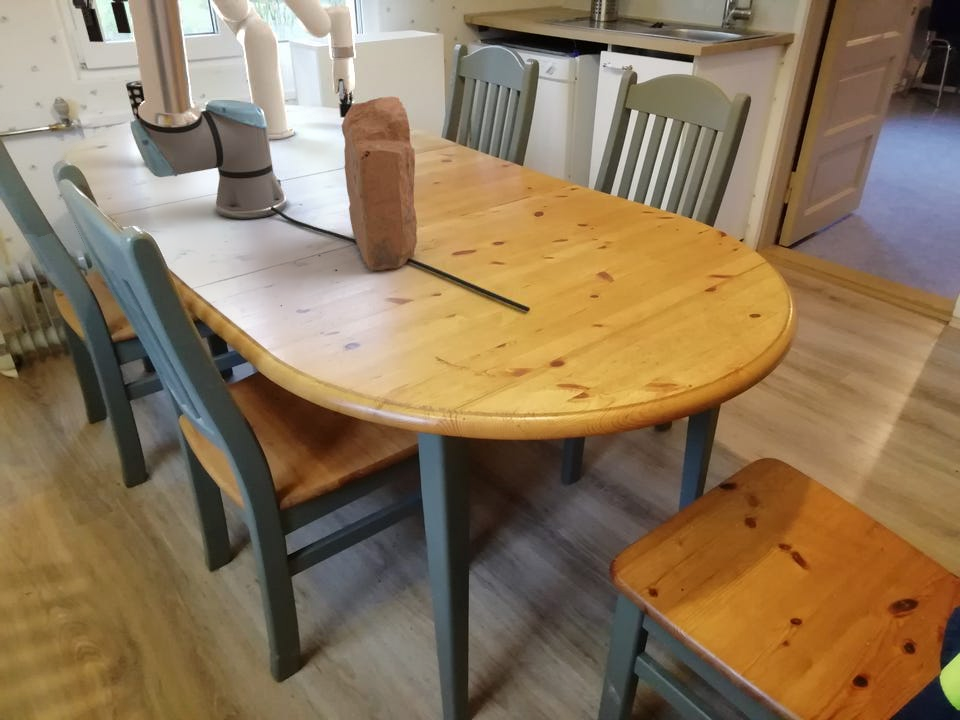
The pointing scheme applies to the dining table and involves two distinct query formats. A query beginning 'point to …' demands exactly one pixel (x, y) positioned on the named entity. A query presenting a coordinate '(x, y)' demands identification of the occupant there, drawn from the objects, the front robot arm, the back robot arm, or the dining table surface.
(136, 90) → the polka dot cylinder
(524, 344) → the dining table surface
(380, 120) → the stone
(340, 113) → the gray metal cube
